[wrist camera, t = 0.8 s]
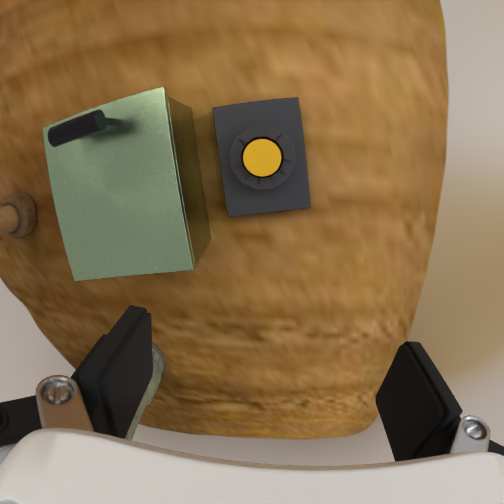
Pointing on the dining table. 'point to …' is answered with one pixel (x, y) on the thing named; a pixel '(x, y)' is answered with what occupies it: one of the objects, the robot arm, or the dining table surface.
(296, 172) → the control box
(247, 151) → the button
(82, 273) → the lid
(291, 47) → the dining table surface
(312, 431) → the dining table surface
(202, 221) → the green box
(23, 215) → the mortar and pestle
